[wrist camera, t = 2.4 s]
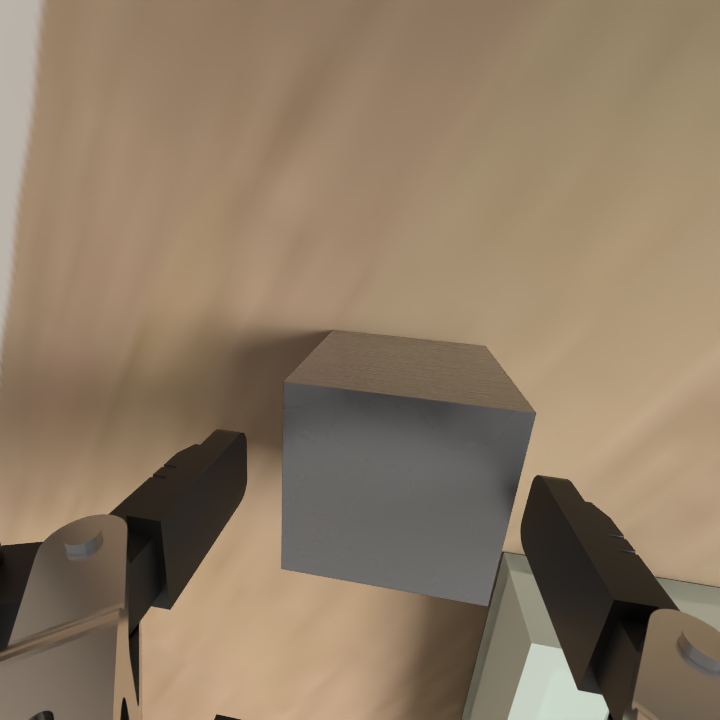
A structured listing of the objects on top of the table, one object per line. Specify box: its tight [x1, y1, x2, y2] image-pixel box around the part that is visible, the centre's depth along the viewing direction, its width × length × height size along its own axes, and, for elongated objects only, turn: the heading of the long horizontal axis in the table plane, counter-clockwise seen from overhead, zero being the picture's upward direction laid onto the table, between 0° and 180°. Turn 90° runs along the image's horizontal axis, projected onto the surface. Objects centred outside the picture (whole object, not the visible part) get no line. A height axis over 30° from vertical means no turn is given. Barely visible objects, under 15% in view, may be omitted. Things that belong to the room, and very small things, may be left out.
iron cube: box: [281, 330, 536, 606], centre depth 12 cm, size 6×6×6 cm
